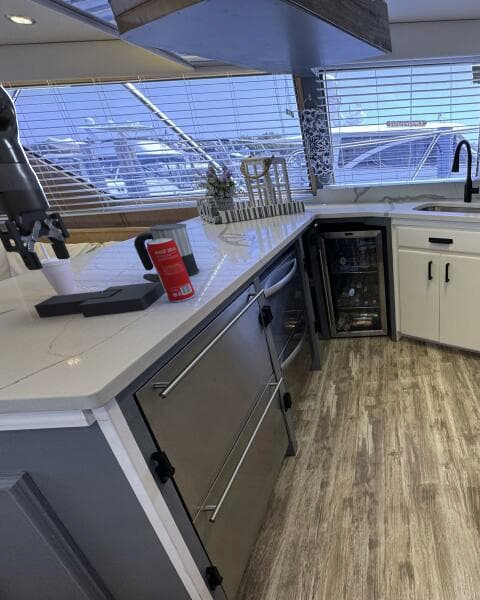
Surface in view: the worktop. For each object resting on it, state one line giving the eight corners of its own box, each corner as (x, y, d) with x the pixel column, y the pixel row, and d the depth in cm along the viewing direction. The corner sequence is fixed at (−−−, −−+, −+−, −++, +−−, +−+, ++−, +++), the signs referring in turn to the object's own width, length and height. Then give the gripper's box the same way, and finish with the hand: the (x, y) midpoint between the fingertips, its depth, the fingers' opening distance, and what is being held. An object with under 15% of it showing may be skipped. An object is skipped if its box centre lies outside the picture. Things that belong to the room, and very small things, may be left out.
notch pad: (84, 317, 72) (78, 305, 71) (114, 297, 83) (109, 286, 82) (144, 310, 74) (140, 298, 73) (166, 291, 85) (162, 281, 84)
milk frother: (197, 267, 105) (183, 221, 99) (207, 278, 94) (192, 228, 88) (144, 277, 97) (125, 228, 91) (148, 291, 86) (127, 236, 80)
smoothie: (45, 298, 84) (18, 246, 78) (73, 289, 90) (50, 240, 84) (63, 299, 83) (37, 246, 77) (90, 290, 88) (67, 240, 83)
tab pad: (40, 317, 73) (33, 305, 71) (59, 307, 78) (53, 296, 77) (111, 309, 76) (106, 297, 74) (125, 299, 81) (120, 288, 80)
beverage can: (200, 293, 83) (182, 235, 77) (185, 303, 77) (165, 242, 71) (177, 294, 83) (157, 236, 77) (160, 304, 77) (138, 243, 71)
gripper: (21, 186, 71) (54, 257, 77) (-44, 190, 58) (2, 275, 65) (61, 185, 73) (90, 254, 79) (7, 189, 60) (47, 271, 66)
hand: (50, 264), depth 72 cm, fingers open, 8 cm apart
